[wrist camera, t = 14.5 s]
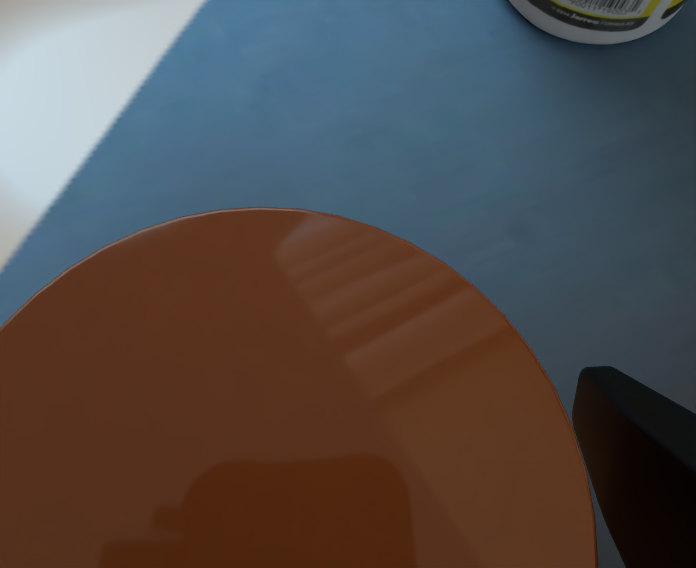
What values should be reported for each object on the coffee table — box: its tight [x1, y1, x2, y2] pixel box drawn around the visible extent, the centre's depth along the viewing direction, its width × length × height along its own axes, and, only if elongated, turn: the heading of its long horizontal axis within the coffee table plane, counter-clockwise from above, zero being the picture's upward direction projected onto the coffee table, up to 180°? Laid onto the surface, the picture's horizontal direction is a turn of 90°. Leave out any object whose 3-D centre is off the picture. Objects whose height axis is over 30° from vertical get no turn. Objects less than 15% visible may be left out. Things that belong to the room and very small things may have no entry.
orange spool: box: [0, 207, 598, 568], centre depth 10 cm, size 7×7×9 cm
